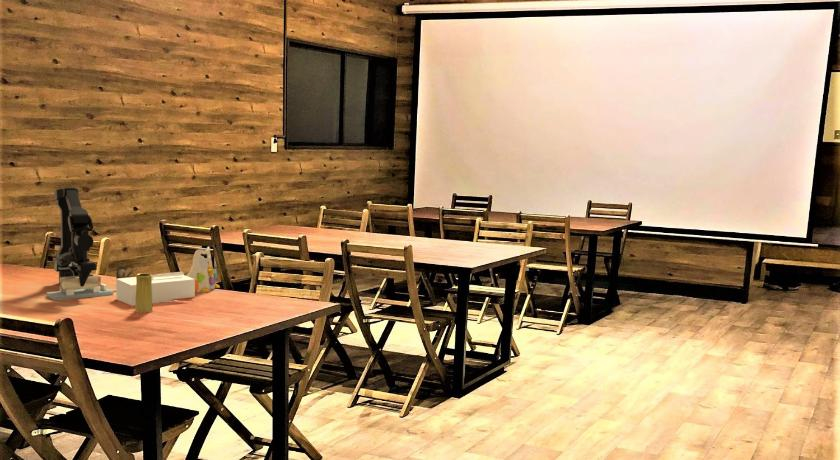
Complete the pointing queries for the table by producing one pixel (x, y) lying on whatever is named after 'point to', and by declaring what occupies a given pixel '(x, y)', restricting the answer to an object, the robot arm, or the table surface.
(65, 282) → the beam with grey square
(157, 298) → the tissue box
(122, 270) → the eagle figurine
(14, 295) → the table surface
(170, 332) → the table surface
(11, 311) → the table surface
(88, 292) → the jig
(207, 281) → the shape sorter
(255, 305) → the table surface
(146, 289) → the vase
